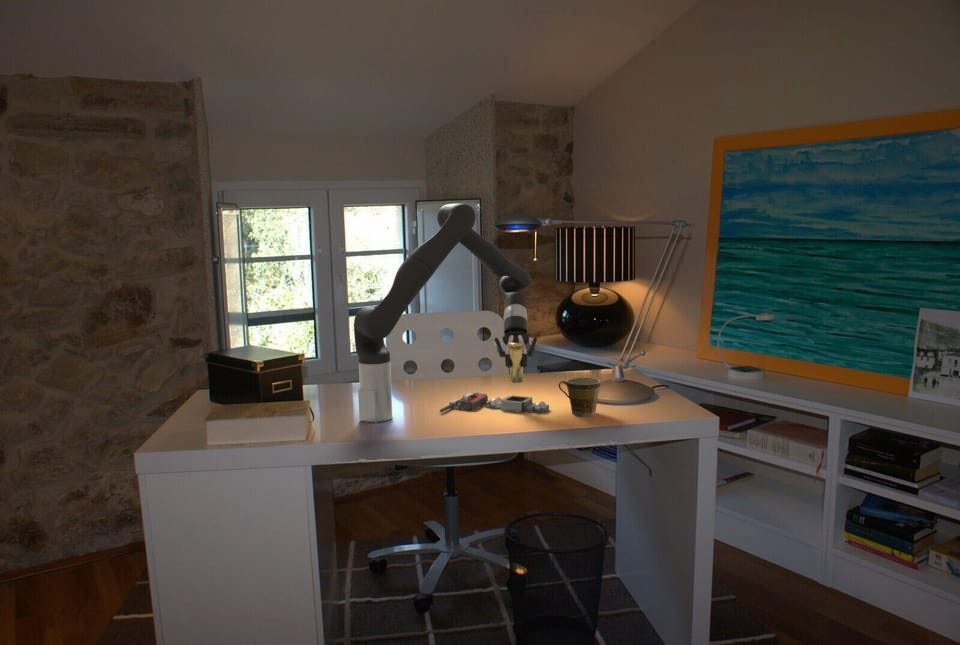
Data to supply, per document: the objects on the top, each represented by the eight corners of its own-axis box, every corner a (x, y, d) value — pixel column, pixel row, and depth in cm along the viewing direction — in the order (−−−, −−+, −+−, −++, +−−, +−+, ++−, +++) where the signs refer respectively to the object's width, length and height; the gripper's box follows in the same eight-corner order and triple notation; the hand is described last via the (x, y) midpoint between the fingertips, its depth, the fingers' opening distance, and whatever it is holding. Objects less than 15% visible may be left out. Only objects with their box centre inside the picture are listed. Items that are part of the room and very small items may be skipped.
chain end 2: (541, 414, 218) (541, 404, 218) (499, 410, 224) (499, 400, 224) (551, 408, 225) (551, 399, 225) (510, 404, 231) (510, 395, 231)
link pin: (520, 383, 222) (519, 344, 220) (506, 382, 224) (505, 343, 222) (526, 380, 226) (526, 342, 224) (512, 379, 228) (512, 341, 227)
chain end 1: (505, 409, 225) (505, 401, 225) (485, 407, 229) (485, 399, 228) (512, 405, 229) (511, 398, 229) (492, 403, 233) (492, 396, 232)
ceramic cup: (605, 411, 220) (605, 379, 218) (593, 419, 211) (592, 385, 210) (565, 407, 226) (565, 375, 225) (552, 414, 218) (551, 381, 217)
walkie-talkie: (466, 400, 240) (437, 415, 222) (466, 387, 239) (437, 400, 221) (490, 402, 236) (463, 417, 218) (490, 389, 235) (463, 403, 218)
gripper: (492, 315, 230) (492, 360, 220) (538, 314, 229) (539, 359, 219) (493, 329, 236) (493, 373, 226) (537, 328, 235) (539, 373, 225)
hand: (516, 366), depth 222 cm, fingers closed on link pin, 4 cm apart
